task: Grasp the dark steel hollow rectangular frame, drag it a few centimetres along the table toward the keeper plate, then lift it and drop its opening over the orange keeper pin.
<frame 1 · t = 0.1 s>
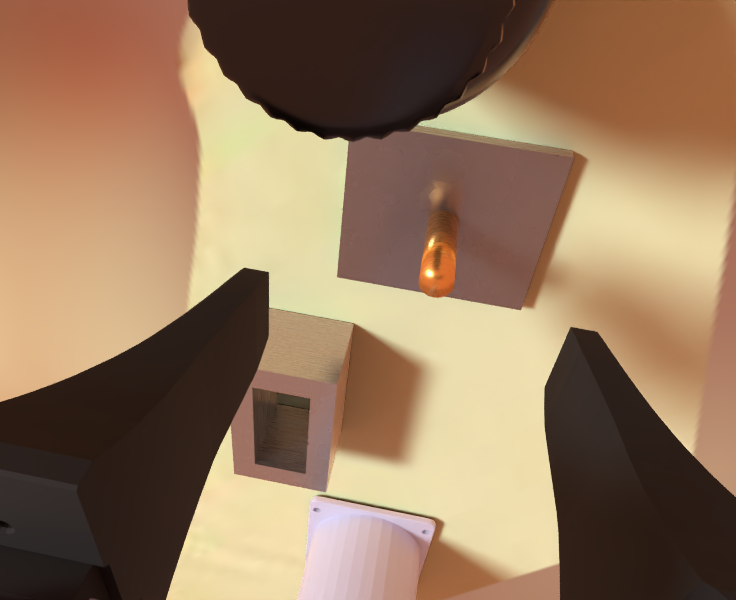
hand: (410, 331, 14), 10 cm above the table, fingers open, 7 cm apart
hollow rectangular frame: (301, 372, 30), on the table
keeper: (443, 216, 23), on the table
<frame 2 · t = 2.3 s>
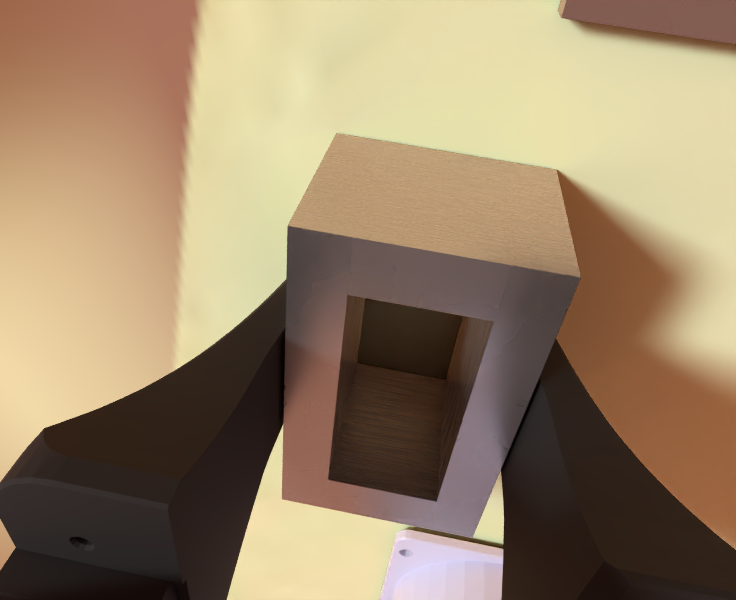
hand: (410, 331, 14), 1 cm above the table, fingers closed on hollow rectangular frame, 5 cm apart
hollow rectangular frame: (416, 295, 15), on the table, touching gripper
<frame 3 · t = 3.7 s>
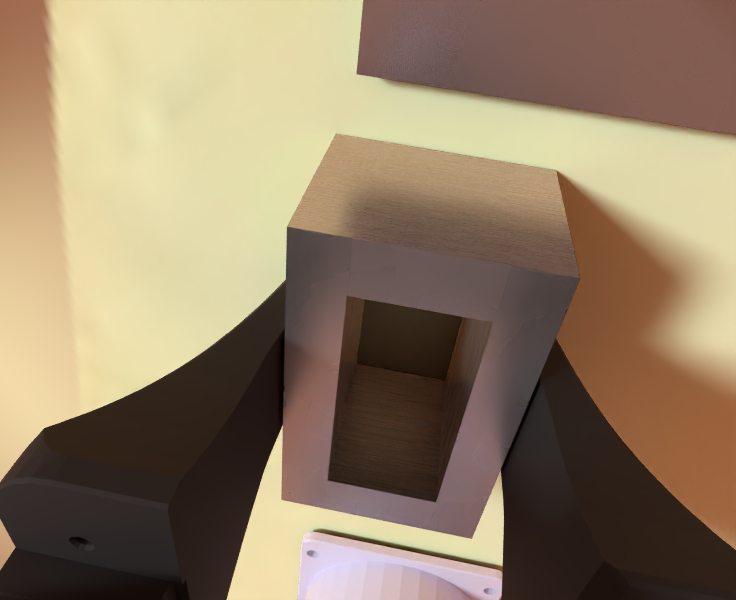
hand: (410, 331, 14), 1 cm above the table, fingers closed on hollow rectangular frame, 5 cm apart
hollow rectangular frame: (415, 296, 15), on the table, touching gripper
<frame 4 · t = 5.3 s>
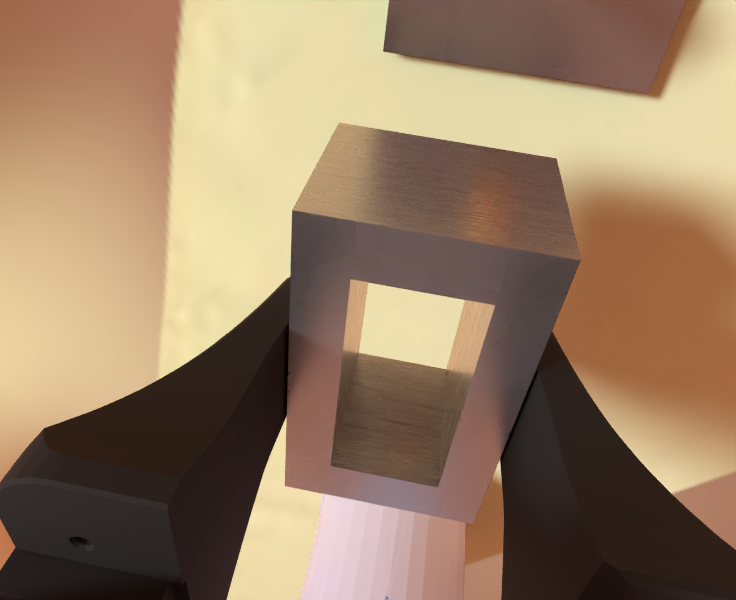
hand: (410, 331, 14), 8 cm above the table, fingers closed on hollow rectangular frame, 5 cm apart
hollow rectangular frame: (417, 285, 15), point 7 cm above the table, touching gripper
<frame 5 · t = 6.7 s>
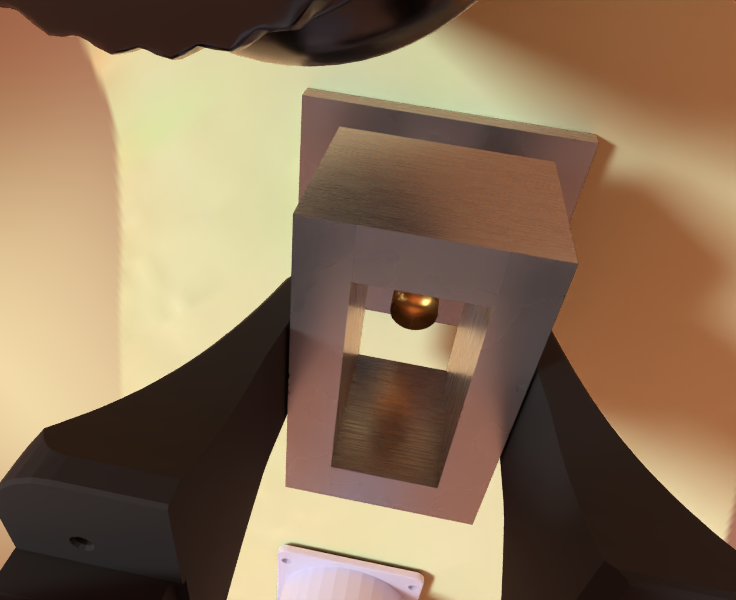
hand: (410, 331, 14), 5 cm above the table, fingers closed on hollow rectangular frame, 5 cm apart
hollow rectangular frame: (417, 287, 15), point 4 cm above the table, touching gripper
keeper: (427, 220, 18), on the table
when the fingers open (4 cm above the table, at t = 7.6 s): hollow rectangular frame drops 1 cm, resting on keeper.
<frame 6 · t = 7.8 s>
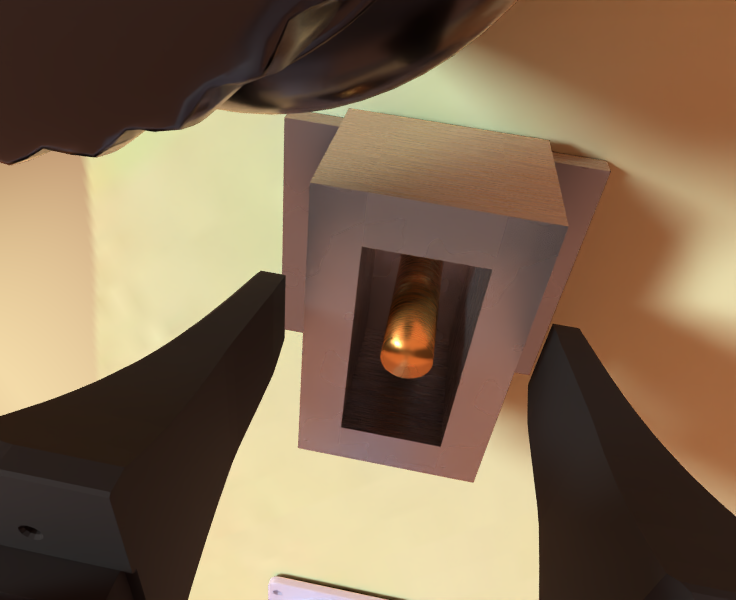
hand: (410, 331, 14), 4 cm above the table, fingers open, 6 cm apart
hollow rectangular frame: (421, 261, 16), point 1 cm above the table, touching keeper
keeper: (423, 250, 17), on the table
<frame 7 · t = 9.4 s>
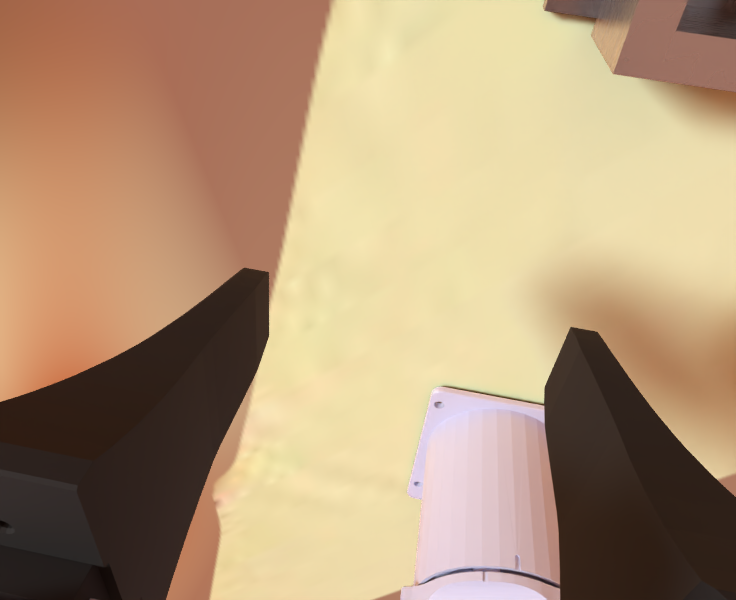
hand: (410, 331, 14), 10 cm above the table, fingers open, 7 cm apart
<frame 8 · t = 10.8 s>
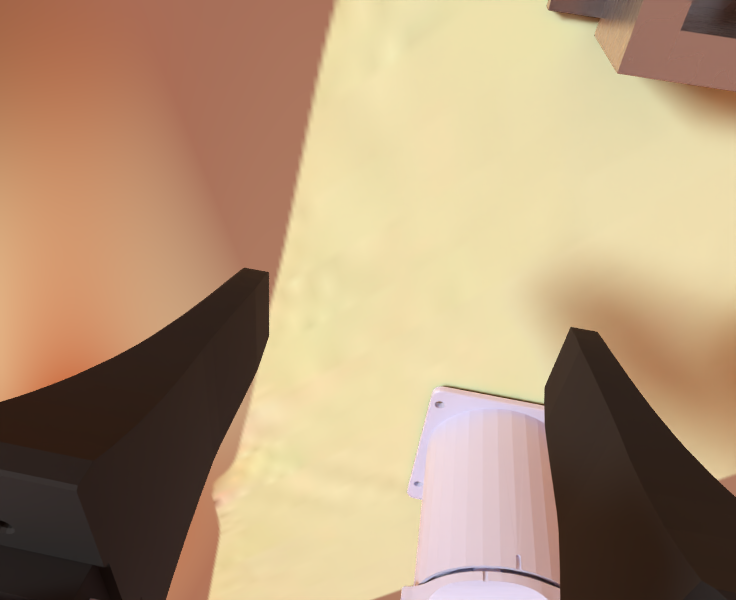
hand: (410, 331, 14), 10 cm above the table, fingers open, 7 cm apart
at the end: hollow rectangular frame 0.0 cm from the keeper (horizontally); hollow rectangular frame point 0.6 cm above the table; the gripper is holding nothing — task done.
